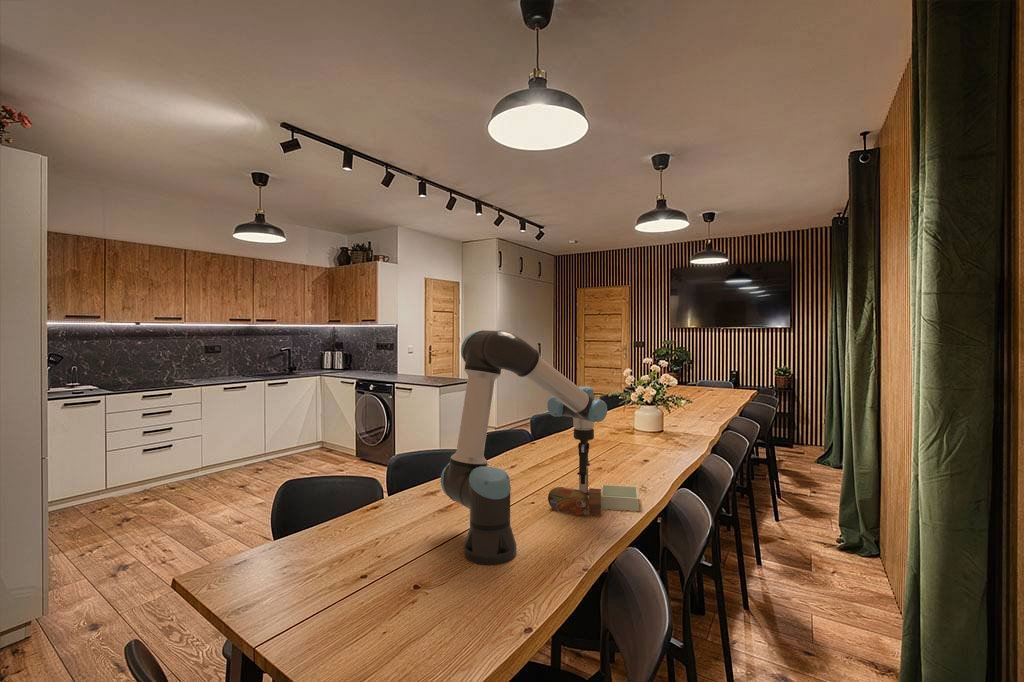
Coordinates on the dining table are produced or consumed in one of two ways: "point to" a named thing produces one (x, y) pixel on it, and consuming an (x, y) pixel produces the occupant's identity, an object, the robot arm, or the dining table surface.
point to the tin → (568, 500)
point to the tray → (619, 498)
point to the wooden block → (594, 501)
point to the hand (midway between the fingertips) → (583, 487)
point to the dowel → (587, 482)
